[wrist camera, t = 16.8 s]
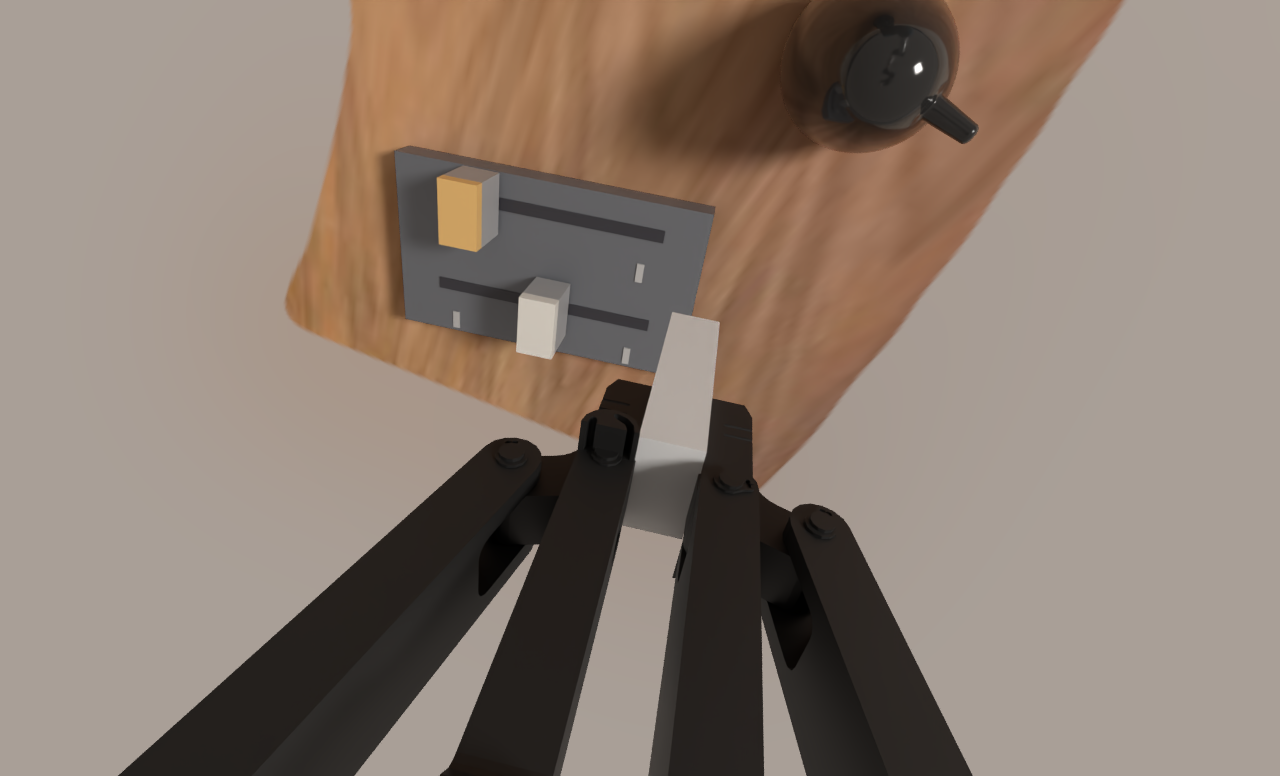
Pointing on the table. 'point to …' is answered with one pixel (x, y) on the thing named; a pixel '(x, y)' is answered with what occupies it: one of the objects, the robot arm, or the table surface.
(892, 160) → the table surface
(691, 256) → the console
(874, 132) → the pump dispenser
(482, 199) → the amber fader
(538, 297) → the block
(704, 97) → the table surface
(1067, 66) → the table surface
